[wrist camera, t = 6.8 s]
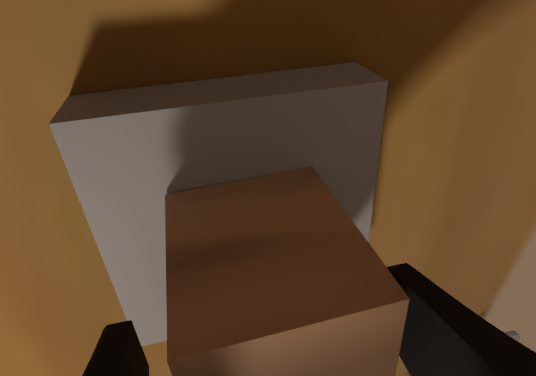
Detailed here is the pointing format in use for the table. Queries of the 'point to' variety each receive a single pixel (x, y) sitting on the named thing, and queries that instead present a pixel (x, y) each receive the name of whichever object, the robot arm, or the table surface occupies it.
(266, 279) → the walnut block
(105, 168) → the grey box
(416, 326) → the robot arm
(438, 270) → the table surface
